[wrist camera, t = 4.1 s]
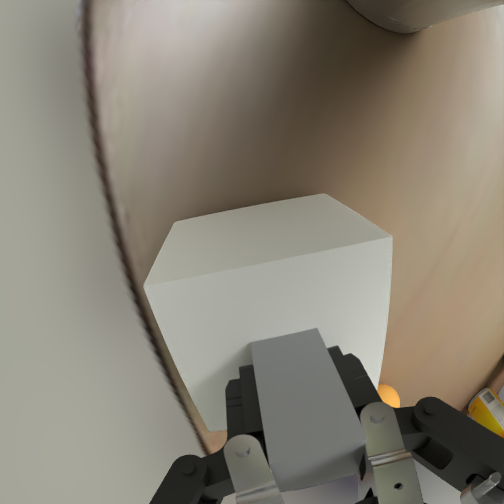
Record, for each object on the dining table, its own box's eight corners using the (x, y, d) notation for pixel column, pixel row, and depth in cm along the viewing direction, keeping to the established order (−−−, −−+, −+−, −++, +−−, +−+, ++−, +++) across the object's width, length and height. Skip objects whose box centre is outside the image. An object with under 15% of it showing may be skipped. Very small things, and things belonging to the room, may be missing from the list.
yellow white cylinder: (464, 413, 38) (499, 465, 24) (468, 399, 36) (507, 455, 22) (487, 396, 38) (522, 444, 24) (491, 380, 35) (532, 431, 22)
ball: (351, 383, 28) (367, 417, 24) (391, 369, 28) (411, 400, 24) (349, 408, 30) (362, 440, 25) (386, 396, 30) (402, 425, 26)
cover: (174, 221, 19) (94, 406, 5) (324, 193, 19) (492, 312, 6) (210, 342, 23) (211, 520, 9) (333, 316, 23) (415, 471, 10)
